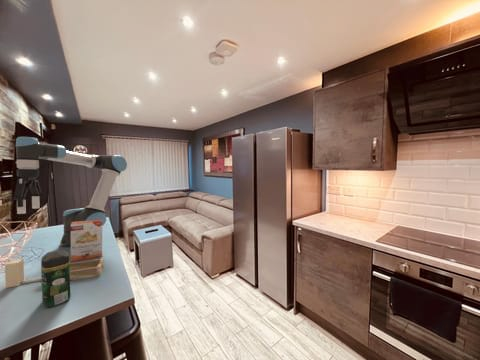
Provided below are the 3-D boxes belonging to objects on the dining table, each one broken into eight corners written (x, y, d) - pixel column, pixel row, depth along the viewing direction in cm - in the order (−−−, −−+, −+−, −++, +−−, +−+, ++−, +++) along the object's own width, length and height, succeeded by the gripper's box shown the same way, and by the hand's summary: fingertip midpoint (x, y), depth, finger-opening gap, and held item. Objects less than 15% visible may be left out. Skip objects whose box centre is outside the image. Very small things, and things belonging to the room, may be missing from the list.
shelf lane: (66, 271, 97) (66, 263, 97) (104, 265, 103) (103, 258, 103) (58, 282, 87) (58, 273, 87) (99, 275, 94) (99, 267, 94)
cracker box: (70, 262, 106) (69, 224, 105) (72, 258, 111) (71, 221, 110) (102, 256, 114) (102, 220, 113) (102, 253, 119) (102, 218, 118)
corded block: (12, 281, 87) (12, 259, 87) (66, 273, 95) (66, 252, 95) (4, 289, 82) (3, 265, 81) (61, 279, 90) (61, 257, 89)
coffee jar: (41, 299, 76) (39, 252, 75) (68, 290, 82) (67, 246, 81) (43, 311, 70) (42, 260, 69) (72, 301, 76) (71, 253, 75)
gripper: (30, 168, 108) (31, 206, 109) (0, 168, 85) (2, 216, 86) (49, 168, 111) (49, 206, 112) (24, 168, 89) (25, 215, 90)
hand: (29, 210), depth 99 cm, fingers open, 13 cm apart
